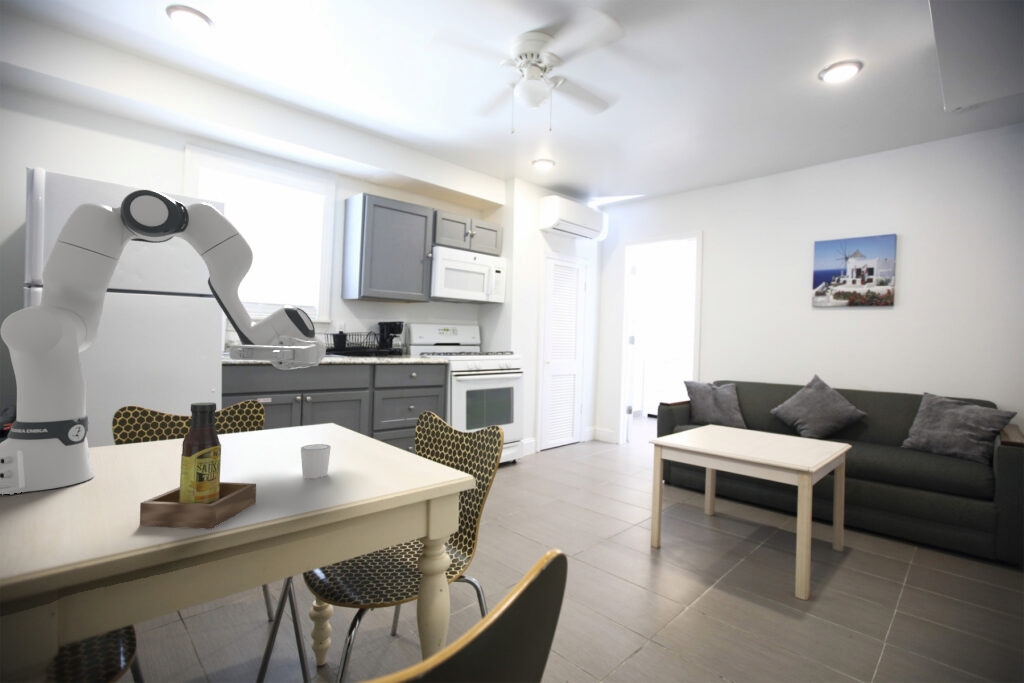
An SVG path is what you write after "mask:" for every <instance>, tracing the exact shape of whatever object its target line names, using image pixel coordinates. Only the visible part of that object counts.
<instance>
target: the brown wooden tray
mask: <svg viewBox="0 0 1024 683" xmlns="http://www.w3.org/2000/svg"><path fill="white" fill-rule="evenodd" d="M179 495H180V486H179V487H178V486H177V487H176V488H173V489H171V490H169V491H166V492H164V493H161V494H159V495H157V496H154V497H152V498H150V499H147V500H144V501H141V502H140V504H139V509H140V510H139V527H158V528H159V527H161V528H162V527H163V528H180V529H199V528H205V530H212V528H213V529H214V528H216V527H218V526H219V524H220V523H221V524H222V522H223V523H224V521H225V522H227V521H228V520H230V519H232V518H233V517H234V516H237V515H238V514H240V513H242V512H243V510H244V511H246V510H247V509H249V508H250V507H252V506H253V505H256V504H255V503H256V502H257V483H252V482H251V483H248V482H226V481H225V482H224V481H222V482H221V481H220V487H219V499H218V500H217V501H215V502H213V503H211V504H201V503H180V502H179ZM236 514H237V515H236ZM231 517H232V518H231ZM229 518H230V519H229ZM221 524H220V525H221ZM217 525H218V526H217ZM215 526H216V527H215Z"/></svg>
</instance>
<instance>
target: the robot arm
mask: <svg viewBox="0 0 1024 683" xmlns="http://www.w3.org/2000/svg"><path fill="white" fill-rule="evenodd" d="M174 237H176V238H180V239H182V240H184V241H186V242H187V243H188V244H189V245H190V246H191V247H192V248H193V249H194V250H195V252H196V253H197V254H198V255H199V256H200V258H201V259H202V260H203V261H204V263H205V265H206V267H207V268H206V269H207V271H208V274H209V275H208V276H209V277H208V280H207V285H208V287H209V289H210V292H211V293H212V296H213V297H214V299H215V300H216V302H217V303H218V305H219V307H220V308H221V310H222V311H223V313H224V315H225V317H226V318H227V320H228V321H229V323H230V324H231V326H232V328H233V329H234V331H235V333H236V334H237V336H238V338H239V341H240V344H232V345H230V347H229V358H230V359H231V360H234V361H258V362H259V361H260V362H261V361H262V362H270V364H271V365H272V366H273V368H274V367H275V368H276V369H278V370H283V371H286V370H296V369H305V368H310V367H311V368H312V367H319V365H320V363H321V362H322V361H323V360H324V358H325V356H326V351H327V349H326V345H325V343H324V342H323V341H322V340H321V339H320V338H318V337H317V336H316V331H315V329H316V328H315V326H314V323H313V320H312V319H311V317H310V316H309V314H308V313H306V311H304V310H303V309H301V308H299V307H297V306H294V305H290V304H289V305H288V304H286V305H284V306H282V307H280V308H278V310H275V311H273V312H272V313H270V314H269V315H268V316H266V317H264V318H263V319H261V320H259V321H258V322H255V321H254V320H253V319H252V318H251V315H250V314H249V313H248V311H247V309H246V307H245V305H244V304H243V302H242V301H241V300H240V298H239V293H238V292H239V291H238V290H239V287H240V285H241V283H242V281H243V280H244V278H245V277H246V275H247V274H248V273H249V270H250V269H251V266H252V265H253V260H254V256H253V251H252V248H251V246H250V244H249V243H248V242H247V240H246V239H245V238H244V236H243V235H242V234H241V233H240V232H239V230H238V229H237V227H235V225H233V223H232V222H231V221H230V220H229V219H228V218H227V217H226V216H225V215H224V214H223V213H221V211H219V210H218V209H217V208H216V207H215V206H213V205H212V204H210V203H207V202H195V203H191V204H190V205H187V206H186V205H185V204H184V203H182V202H180V201H178V200H176V199H173V198H171V197H170V196H168V195H166V194H164V193H162V192H159V191H156V190H152V189H151V190H150V189H139V190H135V191H132V192H130V193H129V194H127V195H126V196H125V197H124V198H123V200H122V202H121V204H120V206H119V207H111V206H108V205H105V204H102V203H94V202H91V203H90V202H85V203H82V204H80V205H78V206H77V207H76V208H75V209H74V211H72V213H71V214H70V216H69V217H68V218H67V220H66V221H65V223H64V225H63V226H62V228H61V230H60V232H59V234H58V236H57V238H56V241H55V243H54V245H53V247H52V250H51V252H50V254H49V256H48V259H47V262H46V263H45V266H44V268H43V271H42V274H41V277H42V291H41V292H42V293H41V298H40V304H39V305H32V306H28V307H24V308H20V309H19V310H17V311H14V312H12V313H11V314H9V315H8V316H7V317H6V318H5V319H4V320H3V322H2V323H1V326H0V337H1V339H2V341H3V342H4V345H6V346H7V348H8V351H9V356H10V361H11V364H12V368H13V372H14V376H15V382H16V384H15V385H16V419H15V420H14V421H13V422H12V423H6V424H3V426H6V427H4V428H3V430H5V431H7V430H9V432H8V434H7V435H6V436H7V438H6V439H5V440H3V441H1V442H0V494H2V495H1V496H4V495H3V494H10V495H15V494H14V493H17V494H20V493H21V492H22V493H26V492H37V491H44V490H45V491H46V490H52V489H57V488H64V487H67V486H72V485H75V484H79V483H83V482H85V481H88V480H90V479H91V480H92V478H93V477H94V473H93V471H94V467H93V466H92V465H91V460H90V459H91V458H90V450H89V441H88V438H87V432H88V431H89V425H90V424H89V423H90V422H89V417H88V415H87V414H86V413H87V381H86V378H85V377H84V373H83V369H82V365H81V364H82V363H81V361H80V353H82V352H84V351H86V350H87V349H88V348H89V349H90V347H91V346H92V345H93V344H94V343H95V342H96V341H97V338H98V335H99V325H100V321H101V317H102V314H103V308H104V301H105V297H106V294H107V290H108V288H109V285H110V283H111V280H112V278H113V275H114V273H115V270H116V268H117V265H118V263H119V261H120V257H121V255H122V253H123V250H124V248H125V247H126V245H127V244H128V243H129V242H130V241H134V242H143V243H154V244H155V243H157V244H159V243H165V242H168V241H170V240H171V239H173V238H174ZM7 426H8V427H7Z"/></svg>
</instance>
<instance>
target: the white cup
mask: <svg viewBox="0 0 1024 683" xmlns="http://www.w3.org/2000/svg"><path fill="white" fill-rule="evenodd" d="M300 453H301V454H300V456H301V457H300V458H301V467H302V468H301V470H302V471H301V472H302V477H303V478H304V477H305V478H304V479H308V478H314V479H320V478H319V477H321V478H324V477H323V476H325V477H327V476H328V473H329V465H330V455H331V445H330V444H324V443H321V444H319V443H318V444H308V445H303V446H302V447H300Z"/></svg>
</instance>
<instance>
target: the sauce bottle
mask: <svg viewBox="0 0 1024 683" xmlns="http://www.w3.org/2000/svg"><path fill="white" fill-rule="evenodd" d="M216 411H217V403H216V402H194V403H191V404H190V412H191V418H190V420H191V421H190V429H189V431H188V432H187V434H185V437H184V438H183V440H182V445H181V446H182V449H181V452H182V453H181V457H180V474H179V475H180V476H179V480H180V481H179V487H180V495H179V502H180V503H201V504H211V503H213V502H215V501H217V500H218V499H219V487H220V482H221V480H220V479H221V464H222V463H221V461H222V460H221V459H222V456H221V455H222V445H221V442H220V439H219V436H218V432H217V429H216V423H215V420H216V419H215V418H216V416H215V415H216Z"/></svg>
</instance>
